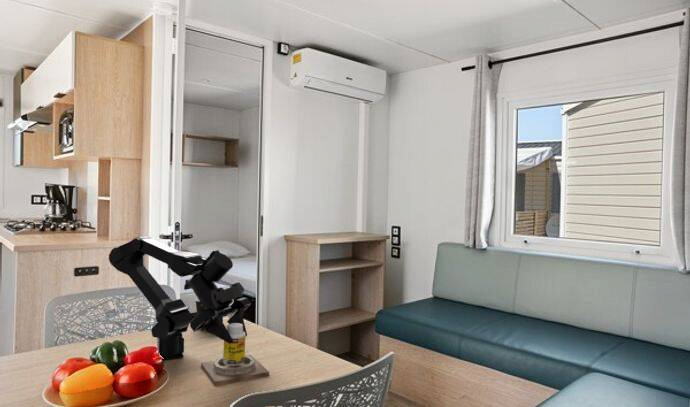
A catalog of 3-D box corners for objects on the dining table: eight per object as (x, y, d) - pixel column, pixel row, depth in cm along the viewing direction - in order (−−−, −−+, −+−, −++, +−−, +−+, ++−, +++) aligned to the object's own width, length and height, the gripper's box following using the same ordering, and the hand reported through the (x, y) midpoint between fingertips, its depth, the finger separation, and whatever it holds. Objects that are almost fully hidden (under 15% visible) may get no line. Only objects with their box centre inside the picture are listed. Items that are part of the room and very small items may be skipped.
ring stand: (214, 385, 114) (215, 375, 114) (201, 366, 126) (201, 357, 126) (269, 375, 121) (269, 366, 121) (250, 358, 133) (251, 349, 133)
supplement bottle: (225, 368, 120) (226, 329, 119) (221, 360, 125) (222, 323, 124) (246, 365, 122) (248, 326, 122) (241, 358, 127) (243, 321, 127)
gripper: (200, 279, 116) (234, 330, 112) (246, 269, 133) (277, 313, 128) (175, 306, 120) (207, 357, 115) (223, 293, 136) (253, 336, 132)
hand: (238, 339), depth 123 cm, fingers closed on supplement bottle, 6 cm apart
